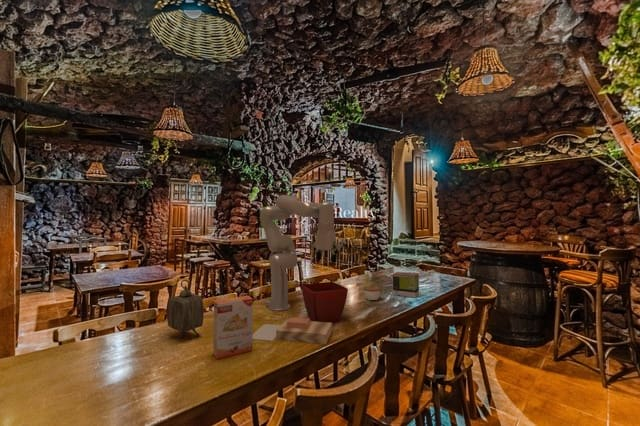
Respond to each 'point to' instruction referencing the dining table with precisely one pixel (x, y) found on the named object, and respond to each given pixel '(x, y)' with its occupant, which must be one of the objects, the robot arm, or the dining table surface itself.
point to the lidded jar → (372, 292)
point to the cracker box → (233, 326)
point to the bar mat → (266, 332)
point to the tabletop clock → (185, 311)
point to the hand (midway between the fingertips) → (326, 261)
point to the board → (306, 333)
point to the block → (298, 323)
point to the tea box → (406, 284)
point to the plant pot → (324, 301)
